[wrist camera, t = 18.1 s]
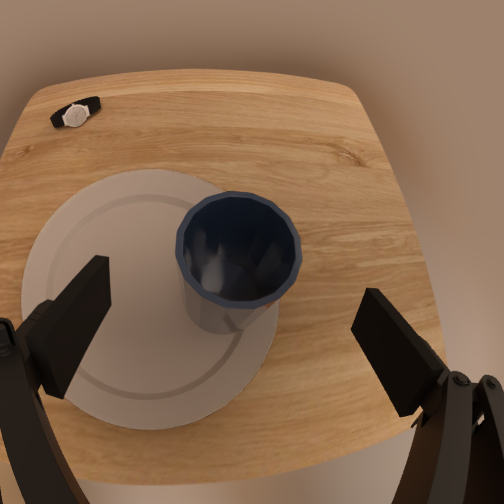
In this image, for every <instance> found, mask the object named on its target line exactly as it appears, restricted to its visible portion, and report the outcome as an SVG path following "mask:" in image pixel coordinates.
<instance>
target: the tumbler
mask: <svg viewBox="0 0 504 504" xmlns="http://www.w3.org/2000/svg"><path fill="white" fill-rule="evenodd" d="M175 258H176V265H177V271H178V278H179V284H180V290H181V295H182V301H183V304H184V307H185V310H186V312H187V314H188V316H189V317H190V319H191V320H192V321H193V322H194V323H195V324H196V325H197V326H198V327H200V328H201V329H203V330H205V331H207V332H209V333H212V334H217V335H228V334H233V333H236V332H239V331H241V330H242V329H245V328H246V327H248V326H249V325H250V324H251V323H252V322H253V321H255V320H256V319H257V318H258V317H259V316H260V315H261V314H263V313H264V312H265V311H266V310H267V309H268V308H269V307H271V306H272V305H273V304H274V303H275V302H276V301H277V300H278V299H280V297H281V296H282V295H283V294H284V293H285V292H286V291H287V290H288V289H289V288H290V287H291V286H292V285H293V284H294V282H295V281H296V278H297V275H298V272H299V269H300V266H301V263H302V250H301V241H300V236H299V234H298V232H297V230H296V228H295V226H294V225H293V223H292V221H291V219H290V217H289V216H288V215H287V214H286V213H284V212H283V211H282V210H281V209H280V208H279V207H278V206H277V205H276V204H274V203H273V202H272V201H270V200H267V199H265V198H263V197H260V196H258V195H256V194H253V193H249V192H236V191H226V192H222V193H219V194H215V195H212V196H208V197H206V198H204V199H203V200H202V201H200V202H199V203H198V204H196V205H195V206H194V207H192V208H191V209H190V210H189V211H188V212H187V213H186V215H185V217H184V219H183V220H182V222H181V224H180V226H179V227H178V229H177V233H176V245H175Z"/></svg>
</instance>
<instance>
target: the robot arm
mask: <svg viewBox="0 0 504 504" xmlns="http://www.w3.org/2000/svg"><path fill="white" fill-rule="evenodd" d="M111 306H112V302H111V287H110V265H109V257H108V256H101V255H95V256H94V257H93V258H92V259H91V260H90V261H89V262H88V263H87V264H86V265H85V266H84V267H83V268H82V269H81V270H80V272H79V273H78V274H77V275H76V276H75V277H74V278H73V279H72V280H71V281H70V283H69V284H68V285H67V286H66V287H65V288H64V289H63V291H62V292H61V293H60V294H59V295H58V296H57V297H56V299H55V300H49V299H47V300H45V301H43V302H42V303H40V304H38V305H37V306H36V308H35V309H34V310H33V311H32V313H30V315H29V316H28V317H27V319H25V320H24V322H23V323H22V324H21V325H20V326H19V328H18V329H17V330H16V331H15V330H14V327H13V324H12V322H11V321H10V320H9V319H7V318H2V317H1V318H0V429H1V433H2V437H3V441H4V445H5V448H6V452H7V455H8V458H9V461H10V464H11V467H12V470H13V473H14V476H15V478H16V481H17V484H18V486H19V489H20V491H21V494H22V496H23V498H24V501H25V503H26V504H90V503H89V502H88V500H87V498H86V497H85V495H84V493H83V491H82V490H81V488H80V486H79V484H78V482H77V481H76V479H75V477H74V475H73V473H72V471H71V469H70V467H69V465H68V463H67V461H66V459H65V457H64V455H63V453H62V451H61V449H60V446H59V444H58V442H57V440H56V437H55V435H54V433H53V430H52V428H51V425H50V423H49V420H48V417H47V415H46V412H45V409H44V407H43V404H42V401H41V398H40V395H39V393H38V389H39V387H40V386H41V384H42V386H43V388H44V391H45V393H46V394H48V395H51V396H54V397H56V398H60V399H63V398H64V396H65V394H66V392H67V389H68V387H69V385H70V383H71V381H72V379H73V377H74V375H75V373H76V371H77V369H78V367H79V365H80V363H81V361H82V359H83V357H84V355H85V353H86V351H87V349H88V347H89V345H90V343H91V342H92V340H93V338H94V336H95V334H96V332H97V330H98V329H99V327H100V325H101V323H102V321H103V320H104V318H105V316H106V314H107V313H108V311H109V309H110V307H111ZM351 331H352V333H353V335H354V336H355V338H356V340H357V342H358V343H359V345H360V347H361V348H362V350H363V352H364V354H365V355H366V357H367V359H368V361H369V362H370V364H371V366H372V368H373V369H374V371H375V373H376V375H377V376H378V378H379V380H380V382H381V384H382V385H383V387H384V389H385V391H386V393H387V394H388V396H389V398H390V400H391V402H392V404H393V405H394V407H395V409H396V411H397V413H398V415H399V417H405V416H409V415H413V414H414V413H415V411H416V410H417V409H418V407H419V406H421V407H422V409H423V411H422V412H421V414H420V415H419V416H418V418H417V419H416V420H415V421H414V423H413V424H412V425H411V428H413V427H414V426H415V425H416V424H417V427H416V431H415V435H414V439H413V442H412V446H411V449H410V453H409V456H408V459H407V463H406V465H405V469H404V471H403V475H402V477H401V480H400V483H399V486H398V488H397V491H396V493H395V496H394V499H393V501H392V503H391V504H504V391H503V389H502V386H501V384H500V383H499V381H498V380H497V379H496V378H494V377H493V376H490V375H484V376H483V377H482V378H481V380H480V381H479V383H471V381H470V380H469V378H468V377H467V376H466V375H465V374H463V373H461V372H458V371H452V372H451V371H450V370H449V369H448V368H447V366H446V365H445V364H444V363H443V361H442V360H441V359H440V358H439V356H438V355H436V353H435V351H434V350H433V349H431V346H430V345H429V344H428V343H427V342H426V341H425V340H424V339H423V338H421V337H420V336H419V335H418V334H417V333H416V332H415V331H414V330H413V328H412V327H411V326H410V325H409V324H408V322H407V321H406V320H405V319H404V318H403V317H402V315H401V314H400V313H399V312H398V311H397V310H396V308H395V307H394V306H393V305H392V304H391V303H390V302H389V300H388V299H387V298H386V297H385V296H384V295H383V294H382V292H381V291H380V290H379V289H377V288H366V290H365V293H364V296H363V299H362V301H361V304H360V307H359V309H358V312H357V315H356V317H355V320H354V322H353V325H352V327H351ZM483 414H484V420H483V421H482V423H481V424H480V425H478V420H479V419H480V417H481V416H482V415H483ZM0 504H3V502H2V496H1V489H0Z"/></svg>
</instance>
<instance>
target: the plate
mask: <svg viewBox="0 0 504 504" xmlns="http://www.w3.org/2000/svg"><path fill="white" fill-rule="evenodd" d="M222 192H224V191H222V190H221V189H219V188H217V187H216V186H214V185H212V184H210V183H209V182H206V181H204V180H202V179H199V178H197V177H194V176H191V175H188V174H184V173H180V172H175V171H170V170H158V169H145V170H134V171H128V172H123V173H119V174H115V175H112V176H109V177H106V178H104V179H101V180H99V181H96V182H94V183H93V184H91V185H89V186H87V187H85V188H83V189H82V190H80V191H79V192H77V193H76V194H75V195H73V196H72V197H71V198H69V199H68V200H67V201H66V202H65V203H64V204H62V205H61V206H60V207H59V209H58V210H57V211H56V212H55V213H54V214H53V215H52V216H51V217H50V219H49V220H48V221H47V223H46V224H45V225H44V227H43V228H42V230H41V232H40V233H39V235H38V237H37V239H36V240H35V242H34V245H33V247H32V249H31V252H30V254H29V257H28V260H27V263H26V267H25V271H24V276H23V282H22V293H21V307H22V318H23V322H24V320H25V319H27V317H28V316H29V315H30V313H32V311H33V310H34V309H35V308H36V306H37V305H38V304H40V303H42V302H43V301H45V300H47V299H49V300H55V299H56V297H57V296H58V295H59V294H60V293H61V292H62V291H63V289H64V288H65V287H66V286H67V285H68V284H69V283H70V281H71V280H72V279H73V278H74V277H75V276H76V275H77V274H78V273H79V272H80V270H81V269H82V268H83V267H84V266H85V265H86V264H87V263H88V262H89V261H90V260H91V259H92V258H93V257H94V256H95V255H101V256H108V257H109V265H110V287H111V302H112V306H111V307H110V309H109V311H108V313H107V314H106V316H105V318H104V320H103V321H102V323H101V325H100V327H99V329H98V330H97V332H96V334H95V336H94V338H93V340H92V342H91V343H90V345H89V347H88V349H87V351H86V353H85V355H84V357H83V359H82V361H81V363H80V365H79V367H78V369H77V371H76V373H75V375H74V377H73V379H72V381H71V383H70V385H69V387H68V389H67V392H66V394H65V396H64V397H65V398H66V399H67V400H68V401H69V402H71V403H72V404H73V405H75V406H76V407H78V408H79V409H81V410H82V411H84V412H85V413H87V414H89V415H91V416H93V417H95V418H97V419H99V420H101V421H104V422H107V423H110V424H113V425H116V426H119V427H125V428H131V429H137V430H161V429H169V428H175V427H179V426H183V425H187V424H190V423H193V422H196V421H198V420H200V419H202V418H205V417H207V416H209V415H211V414H213V413H214V412H216V411H217V410H219V409H221V408H222V407H224V406H225V405H227V404H228V403H229V402H230V401H231V400H233V399H234V398H235V397H236V396H237V395H238V394H240V393H241V391H242V390H243V389H244V388H245V387H246V386H247V385H248V384H249V383H250V381H251V380H252V379H253V377H254V376H255V375H256V373H257V372H258V370H259V369H260V367H261V366H262V364H263V362H264V360H265V358H266V356H267V354H268V352H269V350H270V347H271V344H272V341H273V338H274V335H275V332H276V327H277V322H278V317H279V305H280V299H278V300H277V301H276V302H275V303H274V304H273V305H272V306H271V307H269V308H268V309H267V310H266V311H265V312H264V313H263V314H261V315H260V316H259V317H258V318H257V319H256V320H255V321H253V322H252V323H251V324H250V325H249V326H248V327H246V328H245V329H242V330H241V331H239V332H236V333H233V334H228V335H217V334H212V333H209V332H207V331H205V330H203V329H201V328H200V327H198V326H197V325H196V324H195V323H194V322H193V321H192V320H191V319H190V317H189V316H188V314H187V312H186V310H185V307H184V304H183V301H182V295H181V290H180V284H179V278H178V271H177V265H176V258H175V245H176V233H177V229H178V227H179V226H180V224H181V222H182V220H183V219H184V217H185V215H186V213H187V212H188V211H189V210H190V209H191V208H192V207H194V206H195V205H196V204H198V203H199V202H200V201H202V200H203V199H204V198H206V197H208V196H212V195H215V194H219V193H222Z"/></svg>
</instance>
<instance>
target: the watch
mask: <svg viewBox="0 0 504 504" xmlns="http://www.w3.org/2000/svg"><path fill="white" fill-rule="evenodd" d="M100 108H101V105H100V98H99V97H97V96H94V97H89V98H85V99H82V100H78V101H76V102H73V103H72V104H70V105H67V106H65V107H63V108H62V109H60V110H58V111H57V112H55V113H54V114H53V115H52V116H51V117H50V119H51V122H52V124H53V126H54V128H59V127H62V126H67V125H69V126H72V127H77V126H79V125H81V124H82V123H83V122H84V121H85V120H86V118H87V116H90V115H91V114H93V113H95V112H96V111H98V110H99V109H100Z"/></svg>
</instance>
